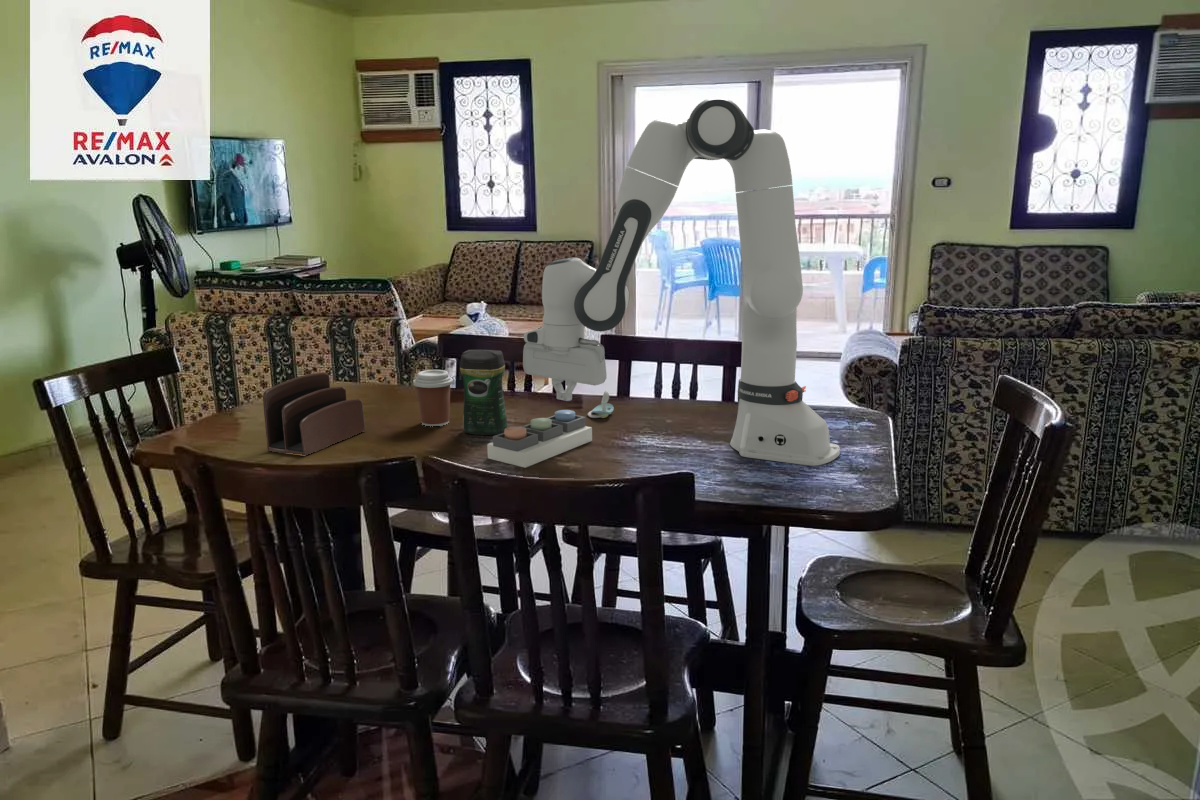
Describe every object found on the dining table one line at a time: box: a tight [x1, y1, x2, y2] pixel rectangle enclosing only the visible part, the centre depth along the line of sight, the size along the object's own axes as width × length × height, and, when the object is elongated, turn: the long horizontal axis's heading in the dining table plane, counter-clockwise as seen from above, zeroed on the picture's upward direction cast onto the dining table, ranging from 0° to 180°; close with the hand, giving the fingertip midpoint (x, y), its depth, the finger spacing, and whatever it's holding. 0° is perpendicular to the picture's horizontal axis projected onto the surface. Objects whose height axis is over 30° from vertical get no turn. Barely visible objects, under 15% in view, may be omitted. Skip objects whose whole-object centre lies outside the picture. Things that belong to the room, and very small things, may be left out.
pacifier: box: [587, 390, 615, 419], centre depth 201 cm, size 7×6×6 cm
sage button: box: [529, 417, 552, 431], centre depth 174 cm, size 4×4×2 cm
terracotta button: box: [503, 426, 527, 440], centre depth 168 cm, size 4×4×2 cm
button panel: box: [487, 414, 593, 468], centre depth 175 cm, size 10×22×5 cm, turn 144°
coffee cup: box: [412, 369, 454, 428], centre depth 194 cm, size 9×9×12 cm
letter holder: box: [262, 372, 366, 455], centre depth 180 cm, size 10×20×14 cm, turn 157°
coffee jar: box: [459, 349, 508, 436], centre depth 187 cm, size 10×8×19 cm
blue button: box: [554, 409, 576, 422], centre depth 181 cm, size 4×4×2 cm
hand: (564, 399), depth 180 cm, fingers closed
